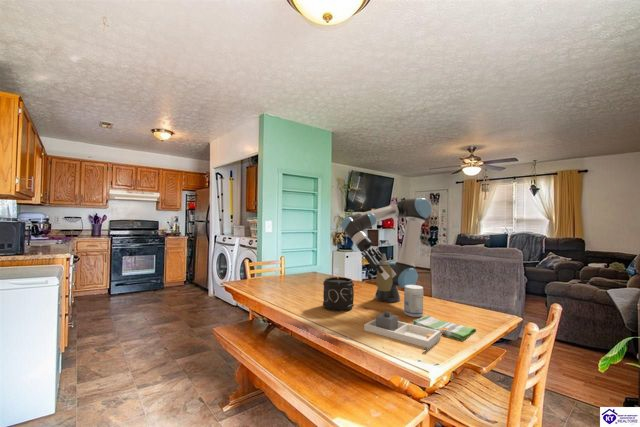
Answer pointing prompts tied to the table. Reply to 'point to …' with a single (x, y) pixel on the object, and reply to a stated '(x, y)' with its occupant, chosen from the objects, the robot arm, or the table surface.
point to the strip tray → (407, 333)
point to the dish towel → (452, 329)
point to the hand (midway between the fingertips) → (390, 277)
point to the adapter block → (387, 321)
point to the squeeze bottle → (380, 281)
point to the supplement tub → (413, 300)
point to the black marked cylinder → (338, 294)
